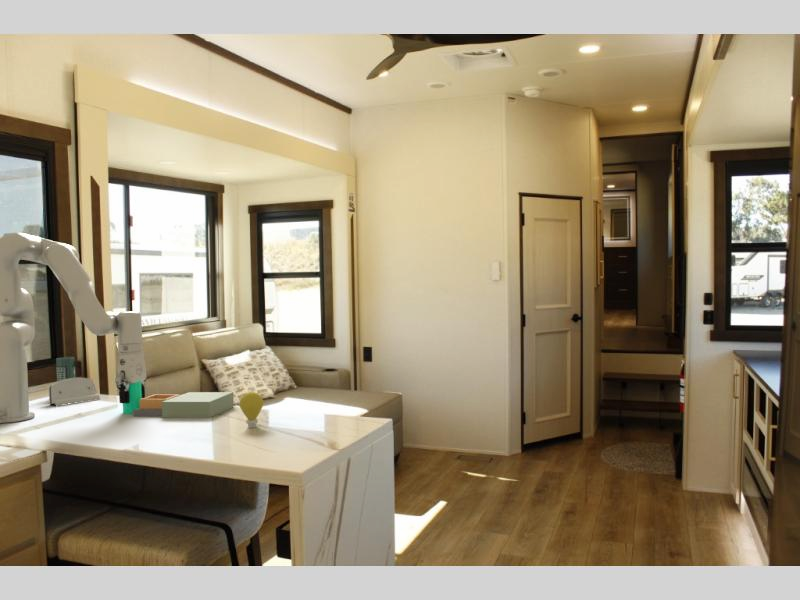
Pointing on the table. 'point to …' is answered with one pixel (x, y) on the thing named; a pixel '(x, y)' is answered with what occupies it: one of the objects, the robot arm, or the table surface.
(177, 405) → the desk organizer
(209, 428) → the table surface
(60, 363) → the can
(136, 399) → the candle
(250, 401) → the light bulb
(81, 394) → the hinge
